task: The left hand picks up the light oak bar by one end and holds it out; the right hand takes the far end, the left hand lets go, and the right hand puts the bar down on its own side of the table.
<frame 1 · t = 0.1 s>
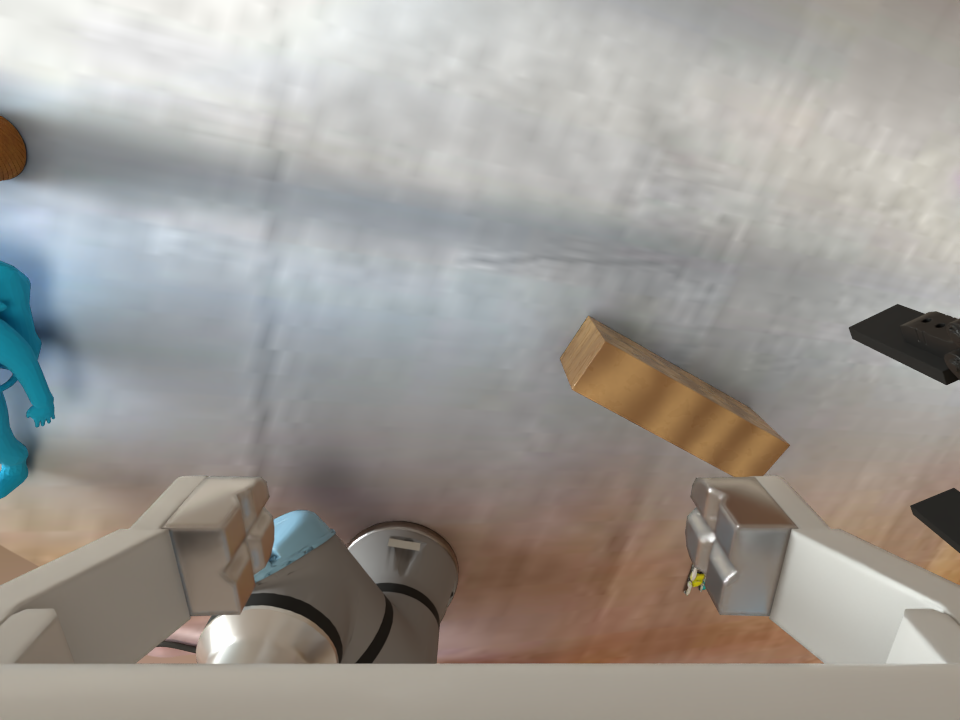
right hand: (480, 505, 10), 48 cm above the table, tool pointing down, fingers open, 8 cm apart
toy 2: (746, 572, 71), on the table
bar: (656, 383, 61), on the table
toy: (11, 364, 61), on the table
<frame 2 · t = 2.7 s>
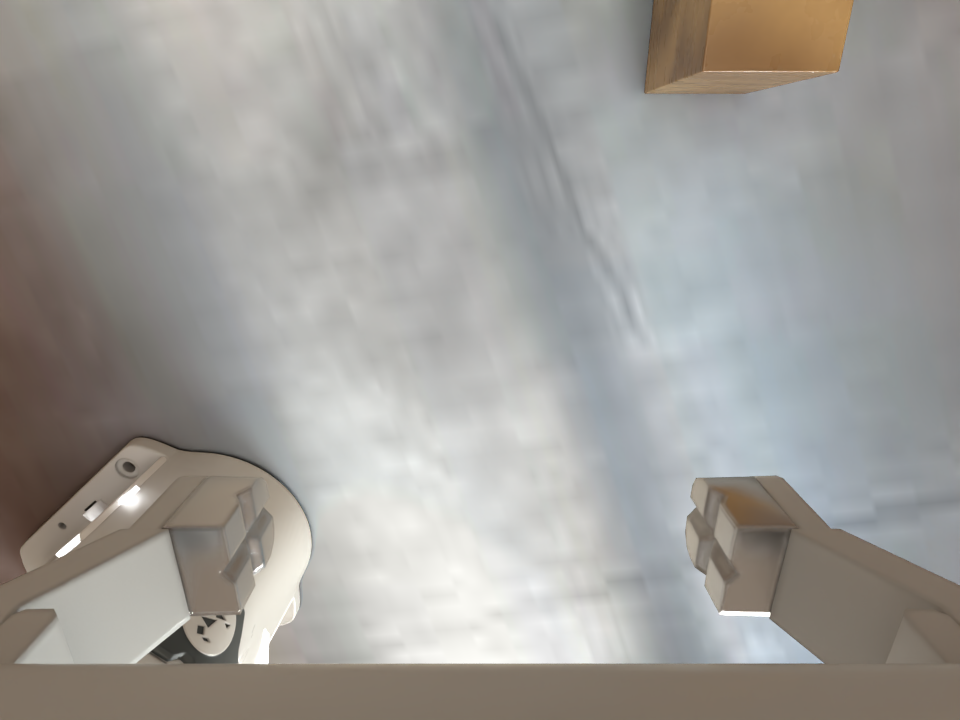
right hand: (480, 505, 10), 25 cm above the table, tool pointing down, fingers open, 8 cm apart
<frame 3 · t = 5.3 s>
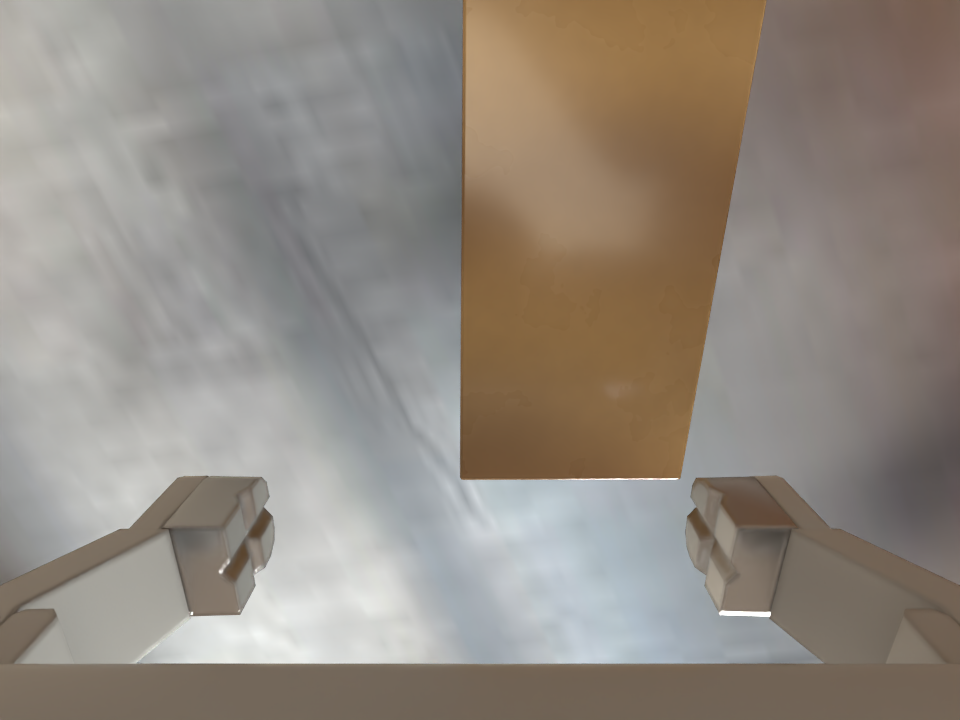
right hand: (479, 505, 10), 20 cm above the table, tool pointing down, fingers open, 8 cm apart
bar: (549, 42, 18), point 9 cm above the table, touching left hand
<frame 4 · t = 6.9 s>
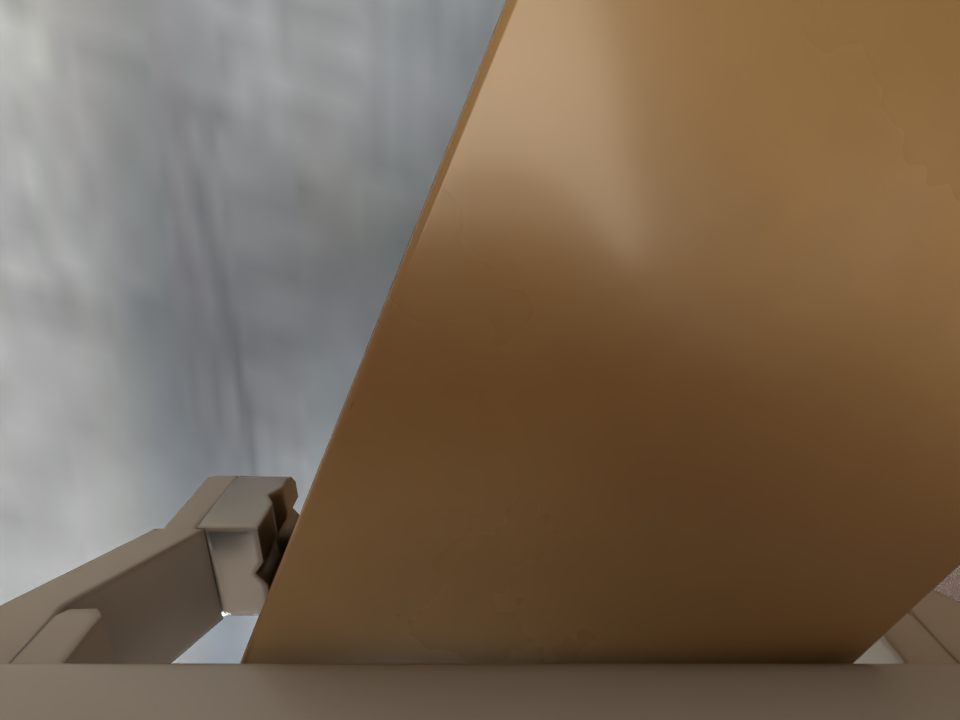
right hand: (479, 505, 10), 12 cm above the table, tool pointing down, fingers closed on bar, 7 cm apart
bar: (660, 68, 11), point 8 cm above the table, touching right hand, left hand
when the left hand's fingers open (9 cm above the table, at t = 8.0 s): bar stays where it is, held by the right hand.
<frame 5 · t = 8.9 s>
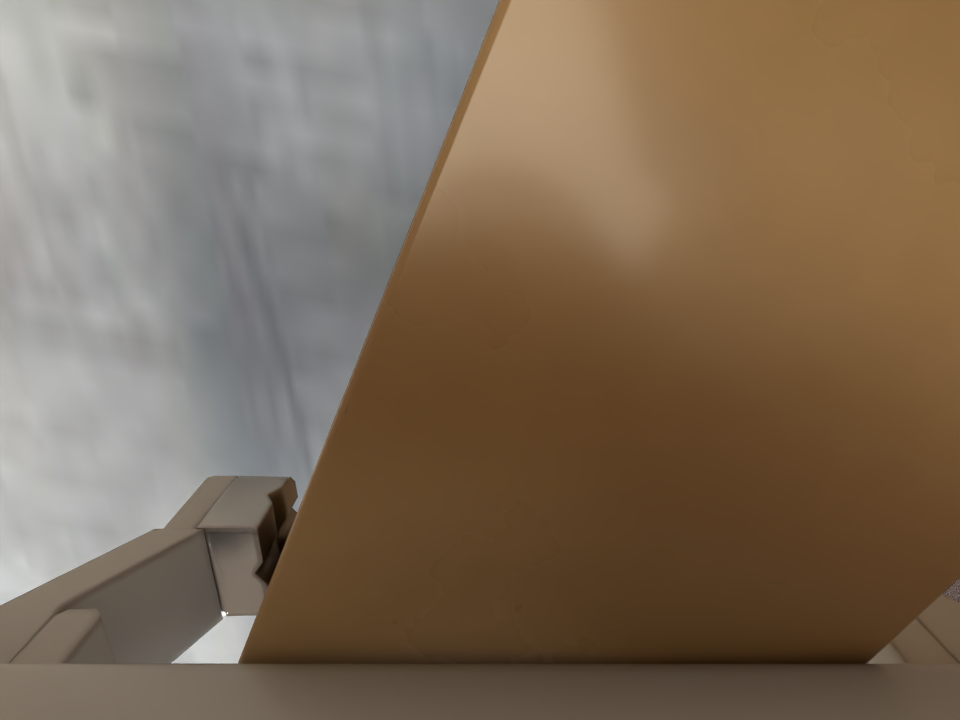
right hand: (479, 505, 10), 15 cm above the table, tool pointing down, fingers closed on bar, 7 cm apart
bar: (660, 66, 11), point 11 cm above the table, touching right hand
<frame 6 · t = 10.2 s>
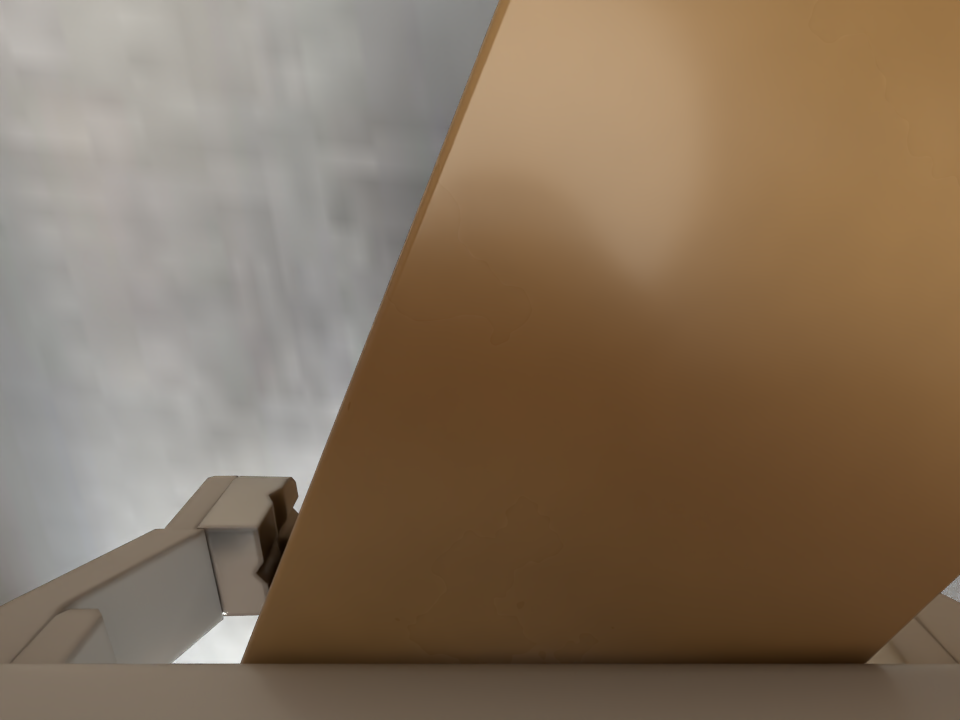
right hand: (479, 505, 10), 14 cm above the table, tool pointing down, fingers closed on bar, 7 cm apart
bar: (660, 67, 11), point 11 cm above the table, touching right hand
when the right hand's fingers open (4 cm above the table, at t = 13.9 s): bar stays where it is, on the table.
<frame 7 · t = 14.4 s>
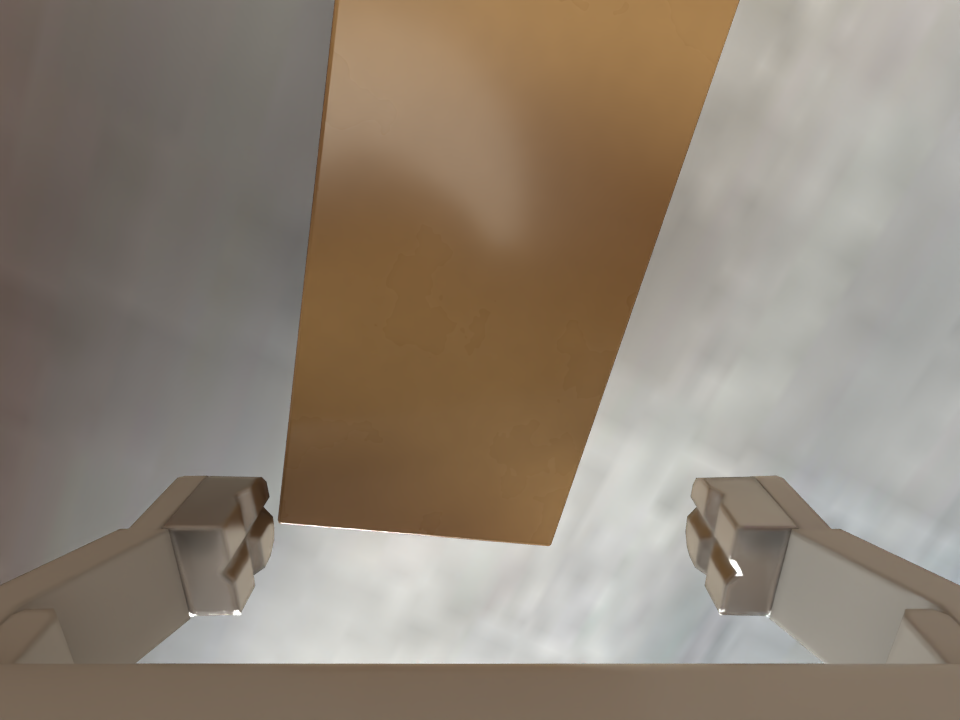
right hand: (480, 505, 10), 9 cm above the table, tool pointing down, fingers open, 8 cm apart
bar: (484, 0, 15), on the table, tilted 7°
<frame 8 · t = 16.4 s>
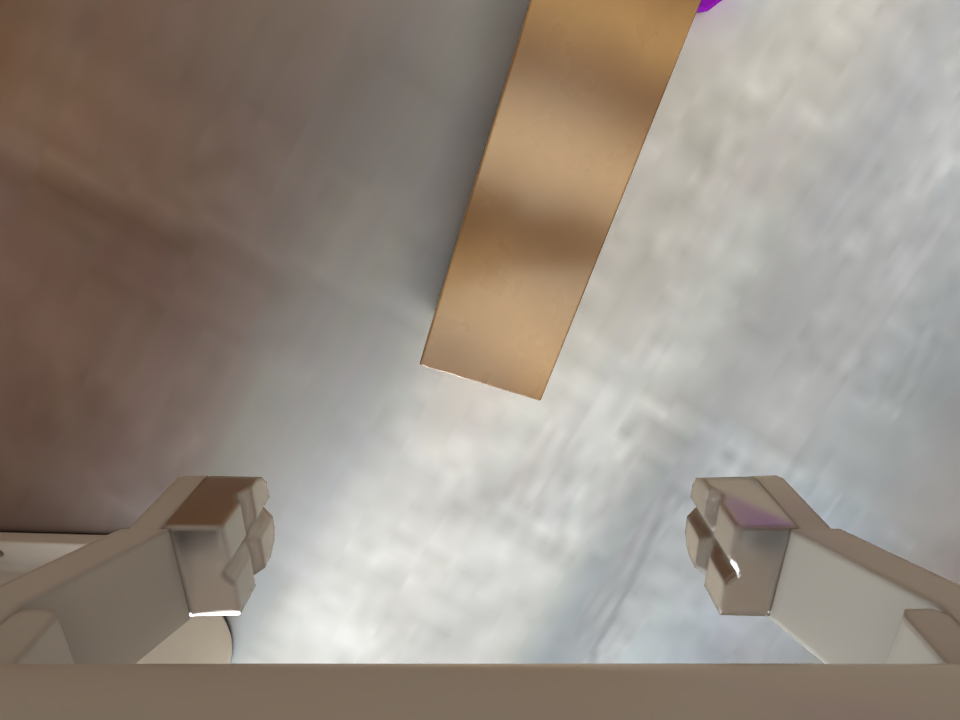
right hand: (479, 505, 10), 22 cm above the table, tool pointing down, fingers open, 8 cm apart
bar: (546, 133, 29), on the table
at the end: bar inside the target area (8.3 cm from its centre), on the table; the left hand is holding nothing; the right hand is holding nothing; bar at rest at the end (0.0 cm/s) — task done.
